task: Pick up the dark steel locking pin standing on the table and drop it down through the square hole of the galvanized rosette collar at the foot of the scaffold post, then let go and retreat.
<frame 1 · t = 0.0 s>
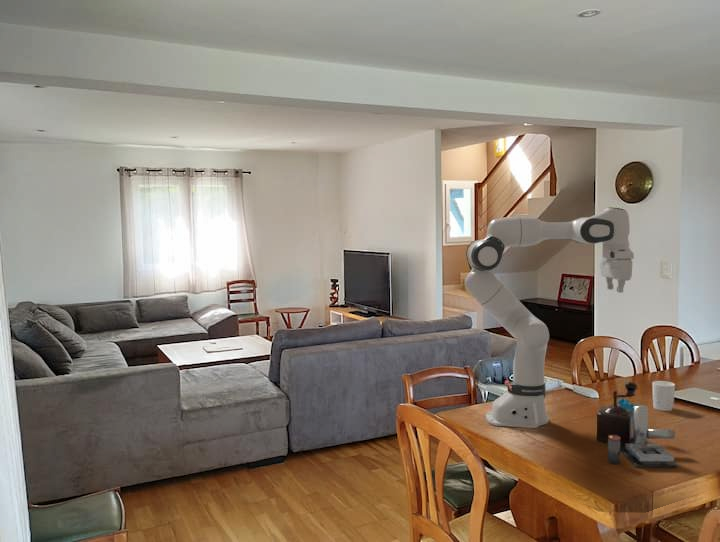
hand: (614, 290, 216), 48 cm above the table, fingers open, 8 cm apart
pin: (613, 462, 182), on the table
dark brown coffee grinder: (616, 437, 203), on the table
white cup: (662, 409, 233), on the table
gear: (629, 421, 220), on the table
rosette post: (639, 452, 189), on the table
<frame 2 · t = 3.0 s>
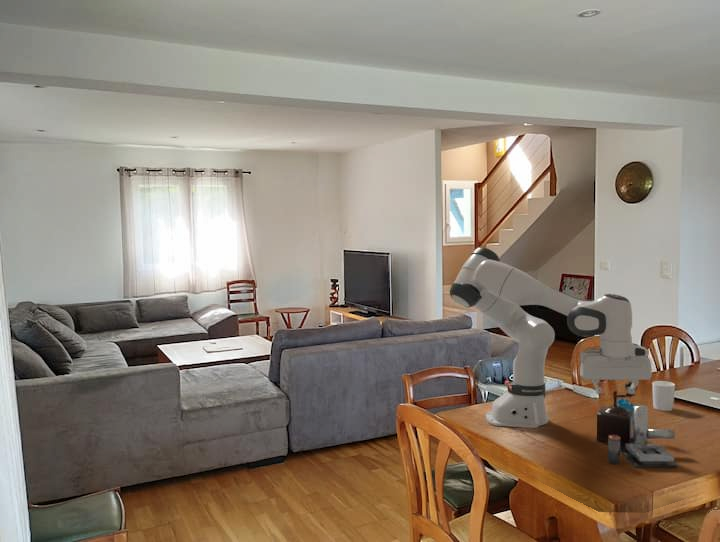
hand: (614, 393, 180), 21 cm above the table, fingers open, 8 cm apart
nothing on the table moved.
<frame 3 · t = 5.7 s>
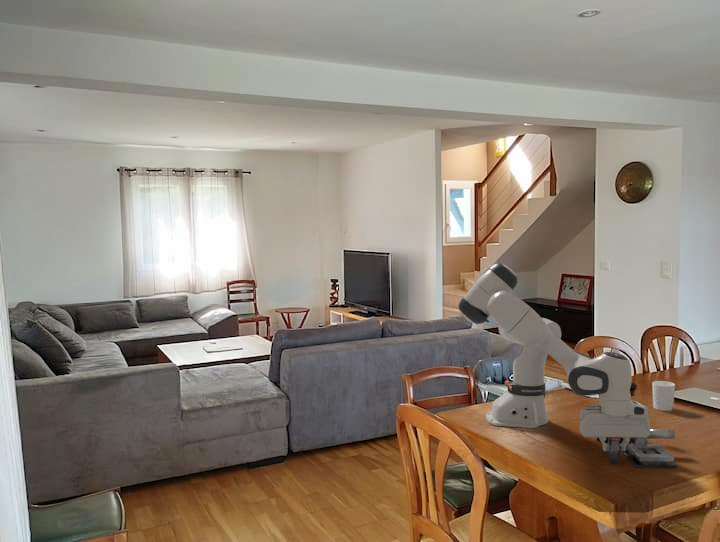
hand: (614, 450, 182), 4 cm above the table, fingers closed on pin, 3 cm apart
pin: (613, 462, 182), on the table, touching gripper
everything else where it was.
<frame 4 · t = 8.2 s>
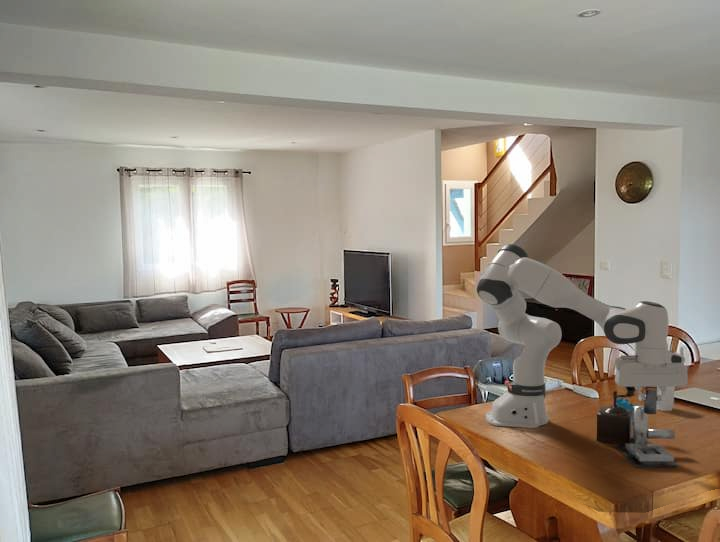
hand: (650, 400, 181), 19 cm above the table, fingers closed on pin, 3 cm apart
pin: (650, 412, 181), point 15 cm above the table, touching gripper
everything else where it was.
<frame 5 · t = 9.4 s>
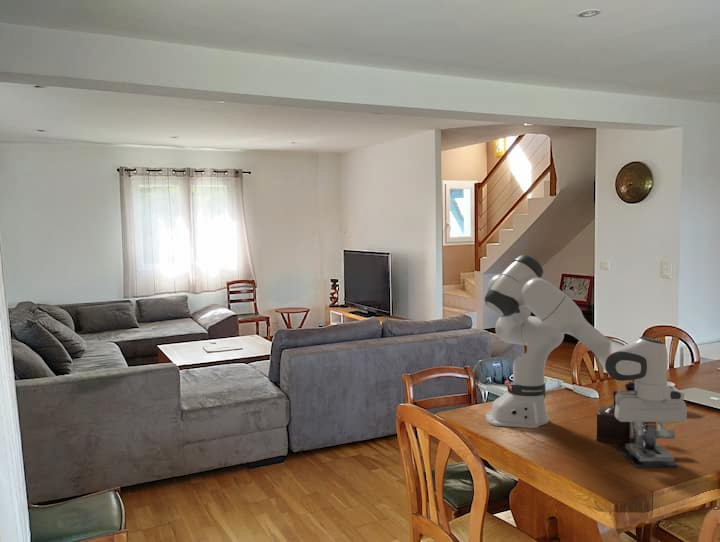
hand: (649, 435, 181), 8 cm above the table, fingers closed on pin, 3 cm apart
pin: (649, 447, 182), point 4 cm above the table, touching gripper
everything else where it was.
when the fingers open (5 cm above the table, at t = 10.6 s): pin stays where it is, resting on rosette post.
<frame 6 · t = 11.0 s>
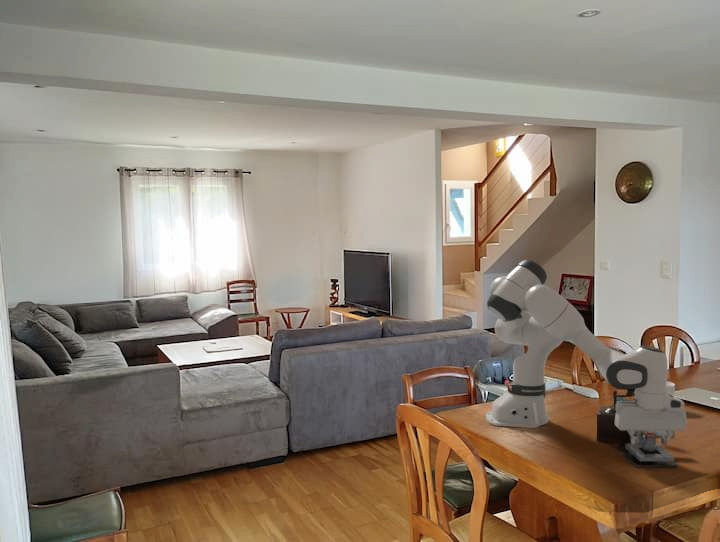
hand: (649, 443, 182), 5 cm above the table, fingers open, 8 cm apart
pin: (649, 458, 182), point 1 cm above the table, touching rosette post
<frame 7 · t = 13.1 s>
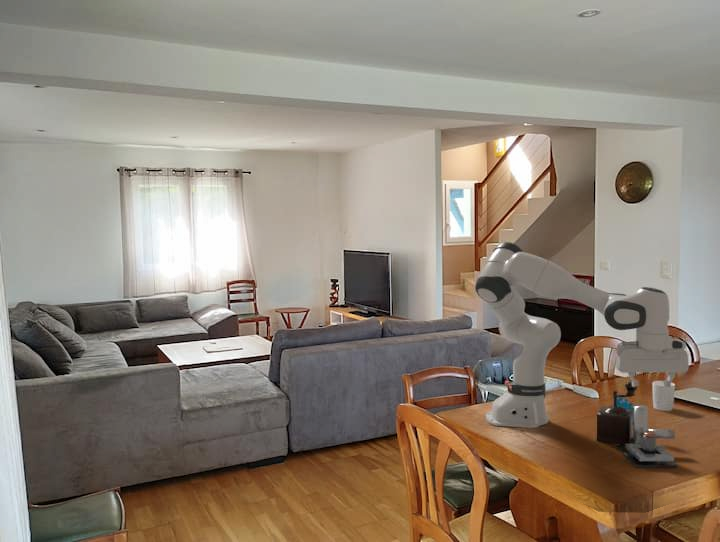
hand: (651, 386, 181), 23 cm above the table, fingers open, 8 cm apart
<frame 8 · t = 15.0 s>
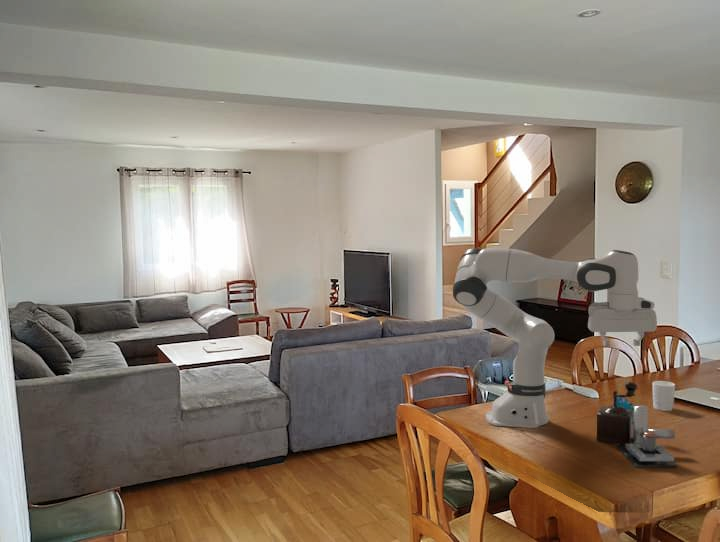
hand: (621, 345, 188), 34 cm above the table, fingers open, 8 cm apart
at the end: pin 0.1 cm from the target spot on the rosette post, point 0.8 cm above the rosette post's base; pin tilted 0°; the gripper is holding nothing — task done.
